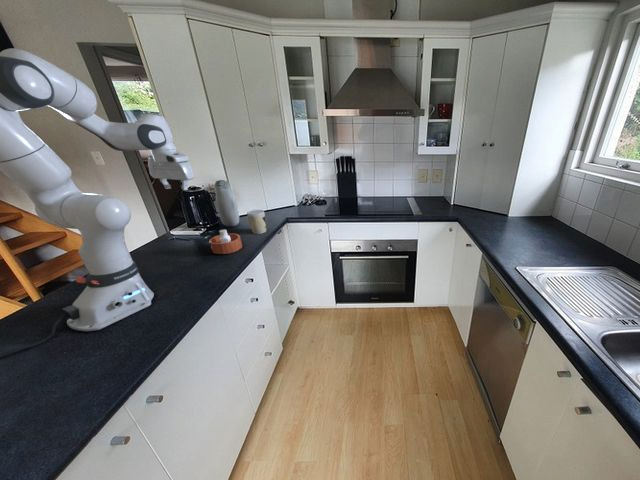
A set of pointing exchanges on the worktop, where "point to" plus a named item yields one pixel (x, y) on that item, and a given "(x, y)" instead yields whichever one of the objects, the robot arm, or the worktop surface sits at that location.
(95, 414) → the worktop surface
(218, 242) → the bowl
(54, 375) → the worktop surface
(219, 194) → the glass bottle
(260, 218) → the coffee cup
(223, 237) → the pepper shaker
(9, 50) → the robot arm
